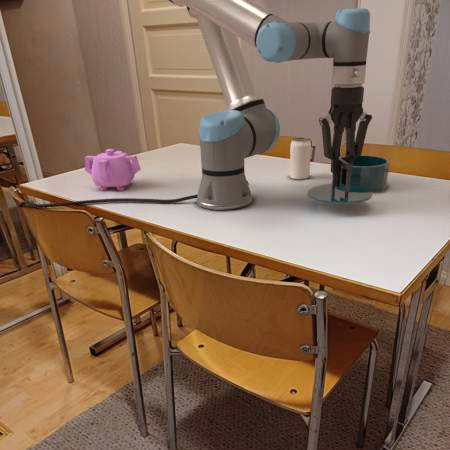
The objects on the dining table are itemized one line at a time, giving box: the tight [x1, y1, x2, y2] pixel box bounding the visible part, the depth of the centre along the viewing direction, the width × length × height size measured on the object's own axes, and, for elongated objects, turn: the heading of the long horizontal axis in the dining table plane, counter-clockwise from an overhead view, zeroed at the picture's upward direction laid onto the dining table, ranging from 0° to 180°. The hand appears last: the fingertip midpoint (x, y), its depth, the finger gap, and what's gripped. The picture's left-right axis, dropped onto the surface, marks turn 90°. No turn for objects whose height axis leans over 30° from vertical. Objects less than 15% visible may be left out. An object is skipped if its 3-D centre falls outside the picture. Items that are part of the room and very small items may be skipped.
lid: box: [307, 158, 374, 205], centre depth 120 cm, size 17×17×10 cm
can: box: [289, 136, 312, 181], centre depth 149 cm, size 6×6×12 cm
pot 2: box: [339, 154, 391, 194], centre depth 138 cm, size 16×16×8 cm
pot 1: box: [84, 148, 141, 191], centre depth 147 cm, size 18×17×12 cm
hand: (340, 184), depth 121 cm, fingers closed on lid, 2 cm apart
